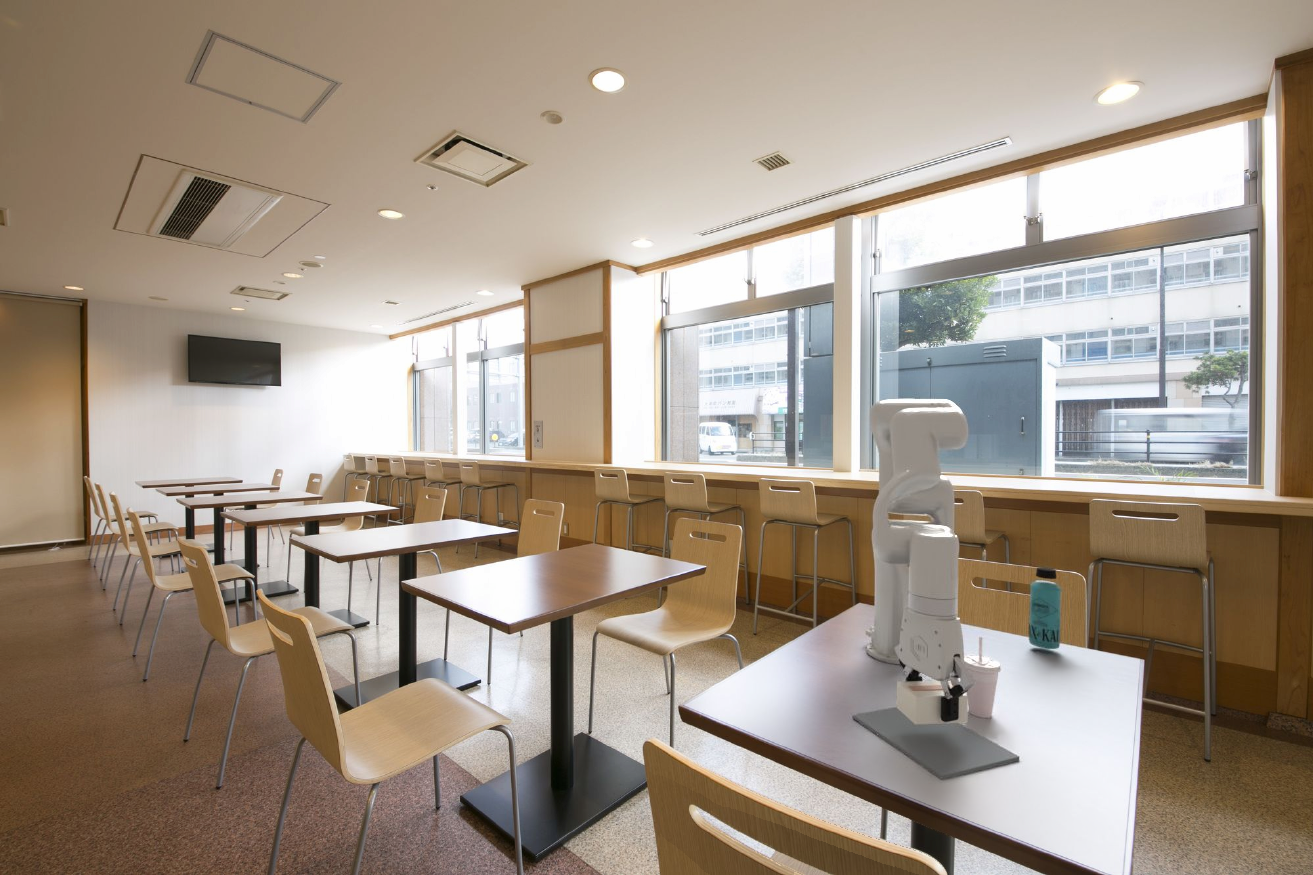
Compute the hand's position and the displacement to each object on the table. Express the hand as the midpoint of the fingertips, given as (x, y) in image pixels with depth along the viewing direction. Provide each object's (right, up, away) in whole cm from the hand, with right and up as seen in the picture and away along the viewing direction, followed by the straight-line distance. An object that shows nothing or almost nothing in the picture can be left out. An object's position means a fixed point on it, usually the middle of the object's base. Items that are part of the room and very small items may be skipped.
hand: (931, 709), depth 99 cm
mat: (0, -5, 0) cm, 5 cm away
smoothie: (+14, -5, +10) cm, 17 cm away
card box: (0, -1, 0) cm, 1 cm away
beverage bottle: (+47, -6, +42) cm, 64 cm away
